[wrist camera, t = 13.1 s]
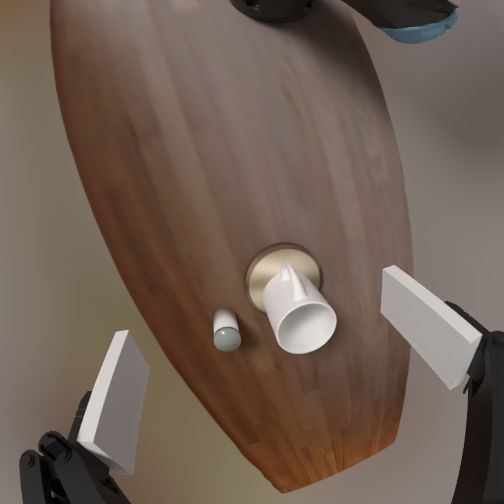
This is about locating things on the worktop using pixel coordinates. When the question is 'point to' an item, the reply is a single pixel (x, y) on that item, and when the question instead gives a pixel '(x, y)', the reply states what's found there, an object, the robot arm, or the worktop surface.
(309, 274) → the beige flat disc
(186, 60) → the worktop surface
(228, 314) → the spice jar
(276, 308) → the mug
